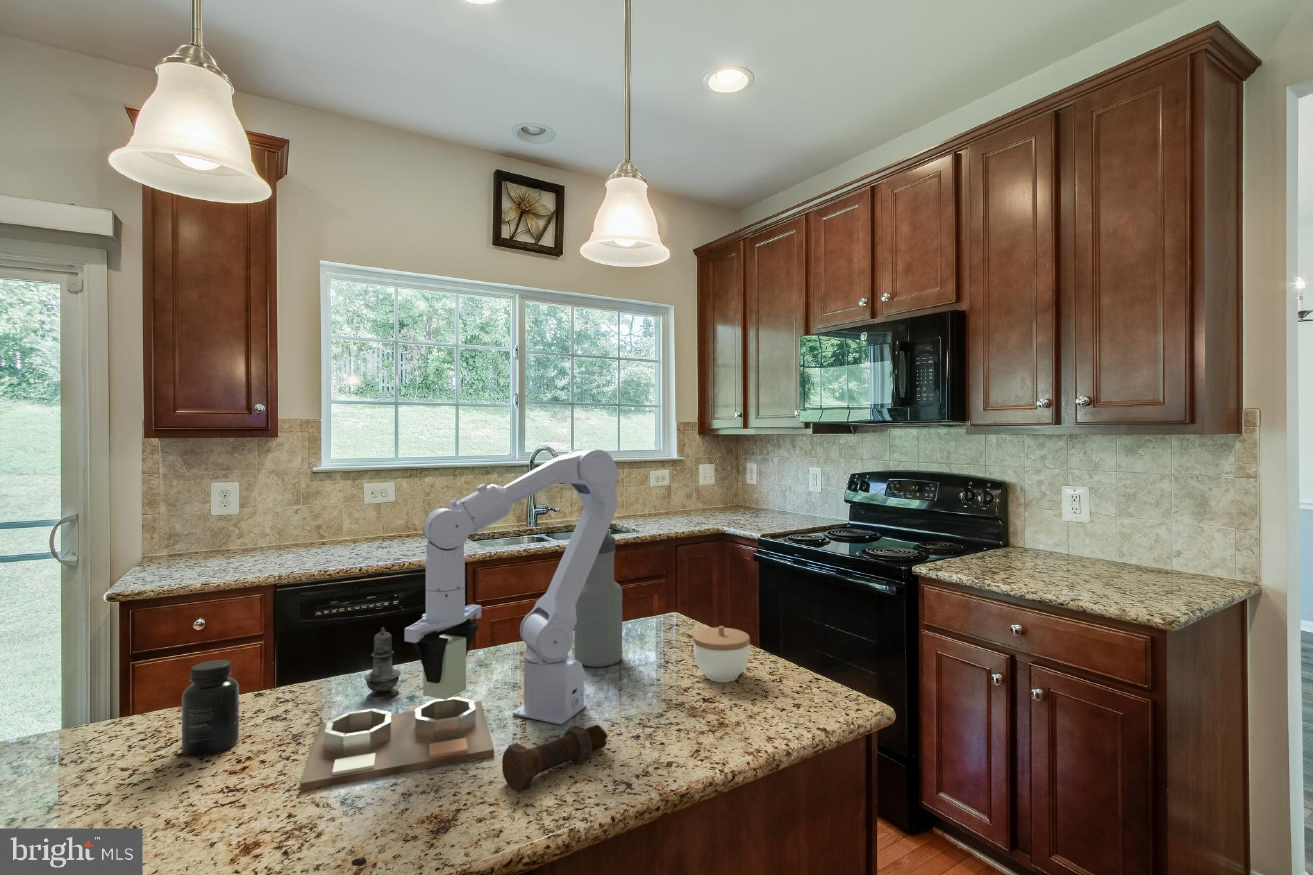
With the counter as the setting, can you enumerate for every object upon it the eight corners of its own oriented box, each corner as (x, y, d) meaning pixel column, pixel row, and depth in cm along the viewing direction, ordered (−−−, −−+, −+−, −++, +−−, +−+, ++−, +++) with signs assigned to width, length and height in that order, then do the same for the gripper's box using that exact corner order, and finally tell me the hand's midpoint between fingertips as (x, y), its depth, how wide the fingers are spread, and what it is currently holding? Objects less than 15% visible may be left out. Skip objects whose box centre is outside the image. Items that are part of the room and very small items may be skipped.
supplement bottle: (249, 740, 94) (250, 659, 94) (203, 762, 87) (204, 675, 88) (217, 733, 96) (217, 654, 96) (169, 754, 90) (170, 670, 90)
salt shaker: (387, 703, 107) (387, 632, 107) (356, 700, 108) (356, 630, 108) (407, 690, 113) (407, 623, 113) (378, 687, 114) (378, 621, 114)
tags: (465, 740, 91) (465, 737, 91) (467, 751, 88) (467, 748, 88) (335, 762, 85) (335, 759, 85) (332, 775, 82) (332, 772, 82)
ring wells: (472, 709, 102) (472, 694, 102) (477, 732, 94) (477, 715, 94) (329, 731, 94) (329, 714, 94) (322, 757, 86) (322, 739, 86)
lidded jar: (682, 680, 117) (682, 629, 117) (709, 662, 126) (708, 616, 126) (735, 691, 112) (735, 638, 112) (758, 672, 121) (758, 624, 121)
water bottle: (571, 653, 132) (571, 520, 133) (617, 649, 135) (616, 519, 135) (577, 670, 122) (576, 526, 123) (626, 666, 125) (626, 524, 125)
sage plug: (465, 689, 98) (466, 637, 98) (445, 699, 93) (445, 645, 94) (443, 685, 99) (443, 634, 99) (423, 695, 95) (423, 642, 95)
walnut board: (480, 706, 105) (480, 700, 105) (494, 756, 89) (494, 749, 89) (319, 731, 97) (319, 724, 97) (300, 790, 80) (300, 783, 80)
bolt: (604, 763, 90) (514, 802, 80) (585, 736, 94) (496, 769, 83) (618, 734, 89) (528, 769, 78) (599, 707, 92) (509, 737, 81)
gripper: (457, 576, 105) (457, 657, 105) (388, 595, 92) (388, 688, 91) (491, 579, 102) (491, 663, 102) (425, 599, 89) (425, 696, 89)
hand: (445, 676), depth 96 cm, fingers closed on sage plug, 4 cm apart
